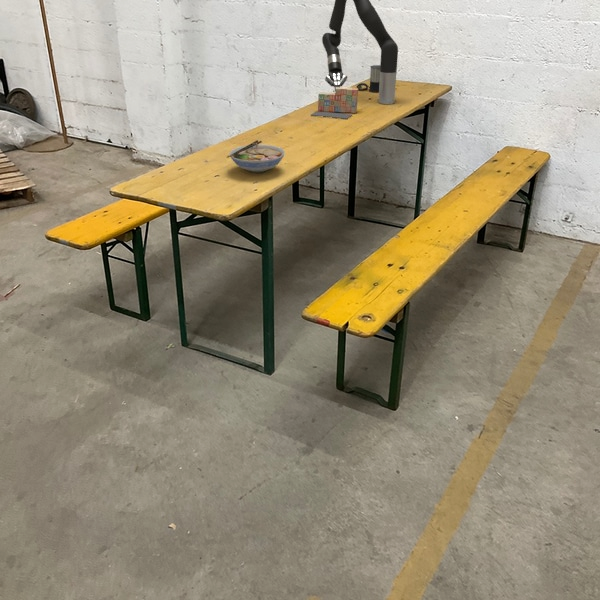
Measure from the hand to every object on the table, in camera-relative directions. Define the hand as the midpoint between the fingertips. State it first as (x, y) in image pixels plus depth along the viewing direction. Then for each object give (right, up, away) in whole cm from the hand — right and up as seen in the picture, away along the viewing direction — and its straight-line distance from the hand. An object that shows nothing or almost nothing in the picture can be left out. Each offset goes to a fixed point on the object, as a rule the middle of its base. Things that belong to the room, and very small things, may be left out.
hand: (337, 92), depth 346 cm
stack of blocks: (0, -12, -3) cm, 12 cm away
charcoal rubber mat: (-4, -16, -10) cm, 20 cm away
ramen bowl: (-39, -62, -88) cm, 114 cm away
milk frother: (+23, +16, +45) cm, 53 cm away
